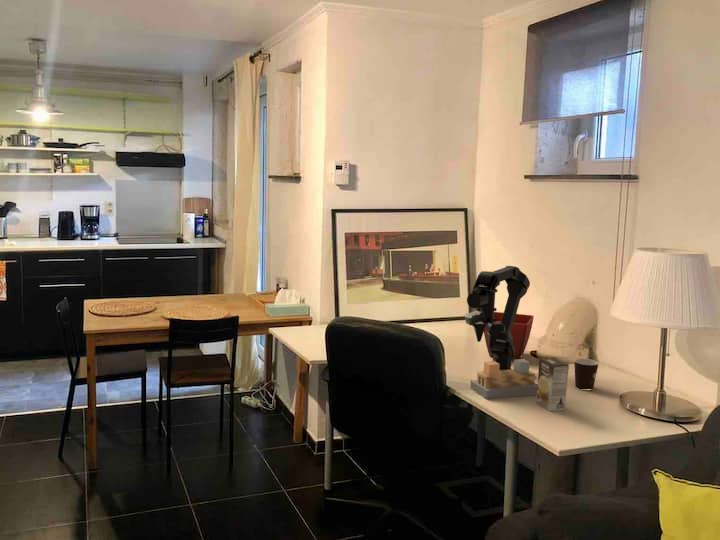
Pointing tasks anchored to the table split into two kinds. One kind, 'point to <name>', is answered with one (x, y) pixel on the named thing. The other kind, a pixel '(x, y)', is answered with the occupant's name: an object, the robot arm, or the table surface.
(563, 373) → the coffee box
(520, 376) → the wooden block
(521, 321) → the plant pot
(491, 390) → the dock
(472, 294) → the robot arm
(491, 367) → the orange cube
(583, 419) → the table surface
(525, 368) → the grey cube
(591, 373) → the coffee mug
